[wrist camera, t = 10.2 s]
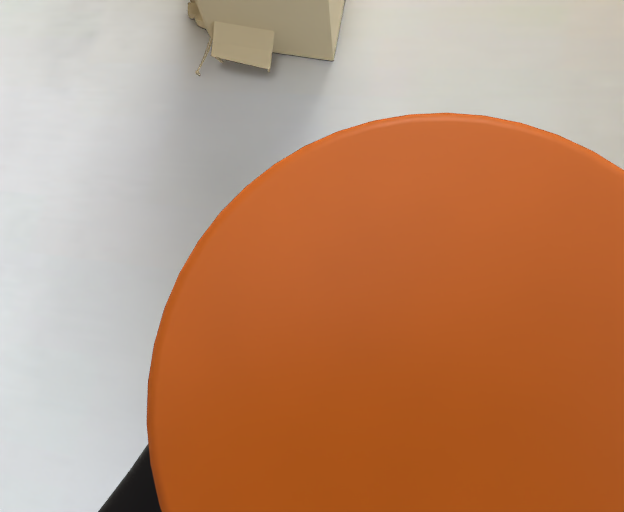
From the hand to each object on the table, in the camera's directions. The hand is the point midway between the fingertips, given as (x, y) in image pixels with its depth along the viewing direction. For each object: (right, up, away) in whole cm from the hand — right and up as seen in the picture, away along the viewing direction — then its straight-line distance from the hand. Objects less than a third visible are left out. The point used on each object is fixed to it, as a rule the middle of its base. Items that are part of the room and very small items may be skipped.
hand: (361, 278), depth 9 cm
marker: (+1, -2, +6) cm, 7 cm away
